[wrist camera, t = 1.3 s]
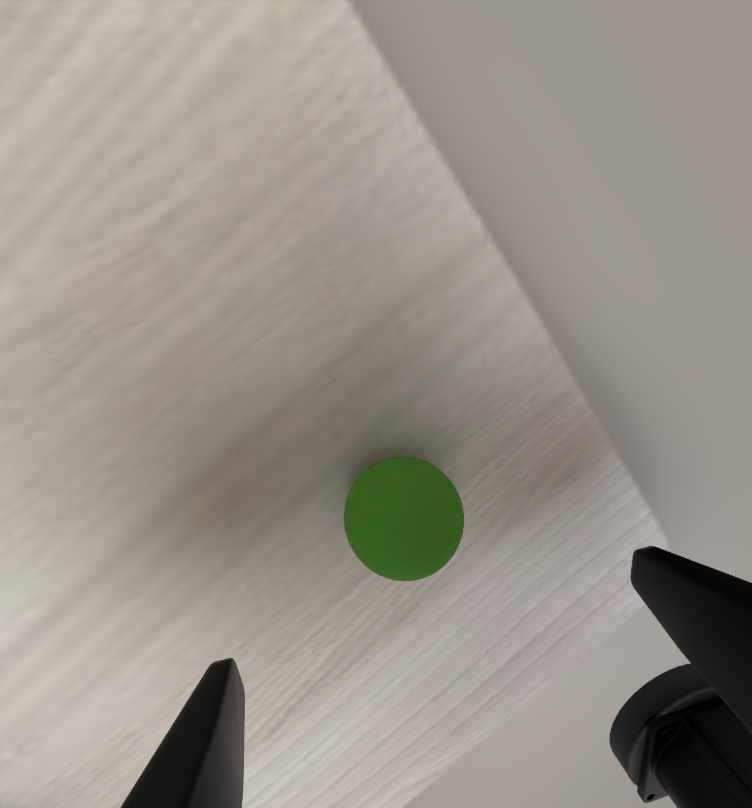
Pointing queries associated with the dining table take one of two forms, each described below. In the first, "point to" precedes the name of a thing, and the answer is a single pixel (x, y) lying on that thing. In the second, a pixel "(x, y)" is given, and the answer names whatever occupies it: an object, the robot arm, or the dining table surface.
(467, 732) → the dining table surface
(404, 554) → the pea
